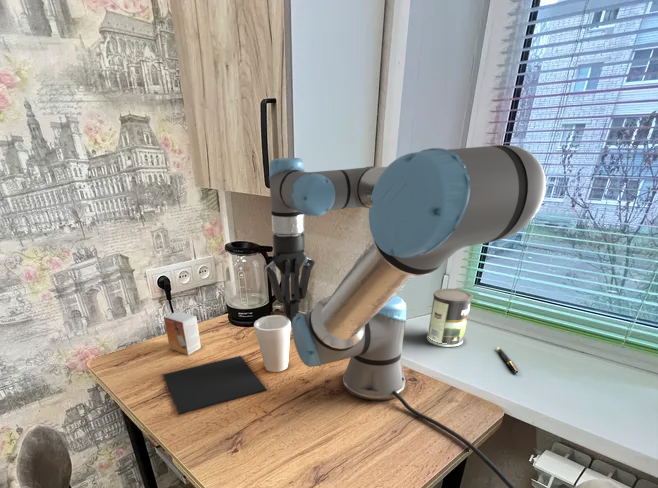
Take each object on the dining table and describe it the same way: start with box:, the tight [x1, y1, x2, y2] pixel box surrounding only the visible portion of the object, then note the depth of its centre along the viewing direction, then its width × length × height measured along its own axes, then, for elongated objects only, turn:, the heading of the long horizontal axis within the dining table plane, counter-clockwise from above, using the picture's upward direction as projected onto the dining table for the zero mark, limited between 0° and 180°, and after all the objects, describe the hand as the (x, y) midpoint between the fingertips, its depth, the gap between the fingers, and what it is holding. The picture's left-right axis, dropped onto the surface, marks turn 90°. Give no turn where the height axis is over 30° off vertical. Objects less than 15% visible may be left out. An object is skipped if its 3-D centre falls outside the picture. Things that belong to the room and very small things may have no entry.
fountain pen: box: [497, 347, 519, 374], centre depth 111 cm, size 14×1×2 cm, turn 176°
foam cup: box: [253, 314, 292, 373], centre depth 110 cm, size 10×9×13 cm
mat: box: [163, 355, 268, 415], centre depth 107 cm, size 20×22×1 cm
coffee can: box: [426, 288, 473, 348], centre depth 120 cm, size 10×10×14 cm
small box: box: [163, 310, 202, 356], centre depth 122 cm, size 8×6×10 cm
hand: (291, 325), depth 110 cm, fingers closed
